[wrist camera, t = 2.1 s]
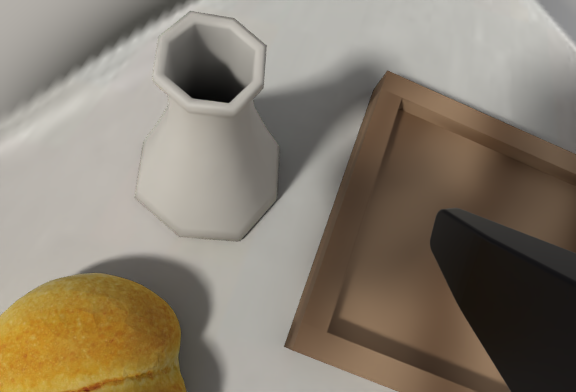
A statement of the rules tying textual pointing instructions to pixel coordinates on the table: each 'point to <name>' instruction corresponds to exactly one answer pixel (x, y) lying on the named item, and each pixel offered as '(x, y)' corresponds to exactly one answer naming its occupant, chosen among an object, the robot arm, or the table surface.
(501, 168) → the walnut tray
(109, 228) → the table surface
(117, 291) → the bread roll
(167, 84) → the flask
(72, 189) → the table surface
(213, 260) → the table surface
